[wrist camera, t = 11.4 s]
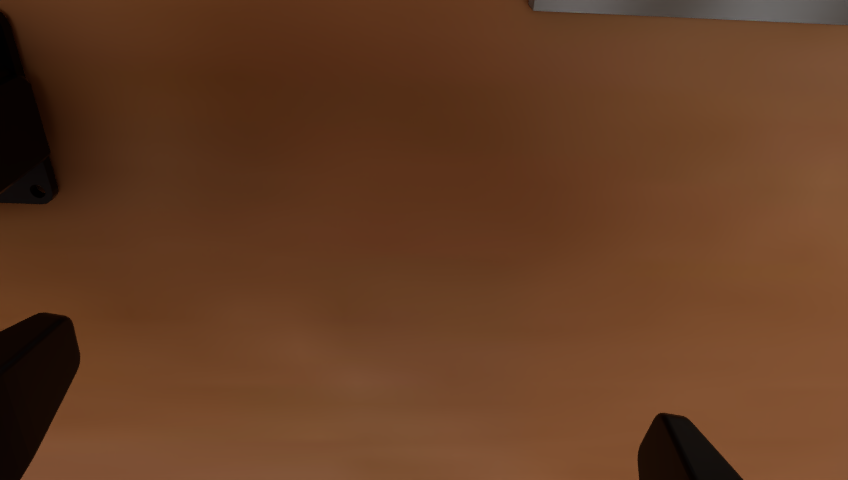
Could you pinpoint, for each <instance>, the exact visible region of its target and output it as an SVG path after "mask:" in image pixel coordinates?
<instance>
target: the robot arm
mask: <svg viewBox="0 0 848 480" xmlns="http://www.w3.org/2000/svg"><path fill="white" fill-rule="evenodd" d="M49 154H50V149H49V145H48V142H47V139H46V135H45V132H44V128H43V125H42V122H41V118H40V115H39V111H38V108H37V105H36V101H35V98H34V94H33V91H32V88H31V84H30V83H29V82H28V80H27V79H26V77H25V73H24V70H23V67H22V63H21V60H20V57H19V53H18V50H17V46H16V43H15V40H14V36H13V33H12V30H11V26H10V24H9V22H8V19H7V18H6V17H5V16H4V15H3V13H2V12H0V203H24V204H46V203H48V202H50V201H51V200H52V199H53V198H54V197H56V196H57V194H58V185H57V181H56V178H55V175H54V171H53V168H52V165H51V161H50V158H49ZM36 185H39V186H41V187H42V188H43V189H44V191H45V193H44V192H41V191H40V190H39V189H38V188H37V186H36ZM79 364H80V352H79V347H78V343H77V339H76V334H75V330H74V326H73V322H72V320H71V319H70V318H69V317H67V316H64V315H57V314H51V313H38V314H36V315H33V316H31V317H29V318H27V319H25V320H23V321H21V322H19V323H17V324H15V325H13V326H11V327H9V328H7V329H5V330H2V331H0V480H20V479H21V478H22V476H23V474H24V473H25V471H26V469H27V468H28V466H29V464H30V463H31V461H32V459H33V458H34V456H35V454H36V452H37V450H38V448H39V446H40V444H41V442H42V440H43V438H44V436H45V434H46V432H47V430H48V428H49V426H50V424H51V422H52V420H53V418H54V416H55V414H56V412H57V410H58V408H59V406H60V404H61V402H62V400H63V398H64V396H65V394H66V392H67V390H68V388H69V386H70V384H71V382H72V380H73V378H74V376H75V374H76V372H77V370H78V367H79ZM638 471H639V480H743V479H742V478H741V477H740V475H739V474H738V473H737V472H736V471H735V470H734V469H733V468H732V466H731V465H730V464H729V463H728V462H727V461H726V460H725V459H724V458H723V456H722V455H721V454H720V453H719V452H718V451H717V450H716V449H715V448H714V446H713V445H712V444H711V443H710V442H709V441H708V440H707V439H706V438H705V436H704V435H703V434H702V433H701V432H700V431H699V430H698V429H697V427H696V426H695V425H694V424H693V423H692V422H691V421H690V420H689V419H688V418H686V417H684V416H680V415H674V414H668V413H659V414H658V415H656V417H655V418H654V420H653V422H652V424H651V425H650V427H649V429H648V431H647V433H646V435H645V437H644V439H643V441H642V443H641V445H640V447H639V451H638Z"/></svg>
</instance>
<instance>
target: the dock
mask: <svg viewBox="0 0 848 480" xmlns="http://www.w3.org/2000/svg"><path fill="white" fill-rule="evenodd" d="M528 4H529V6H530V7H531V8H532V10H533V11H552V12H573V13H595V14H617V15H639V16H661V17H683V18H705V19H727V20H749V21H771V22H793V23H814V24H836V25H848V0H529V3H528Z"/></svg>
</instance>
